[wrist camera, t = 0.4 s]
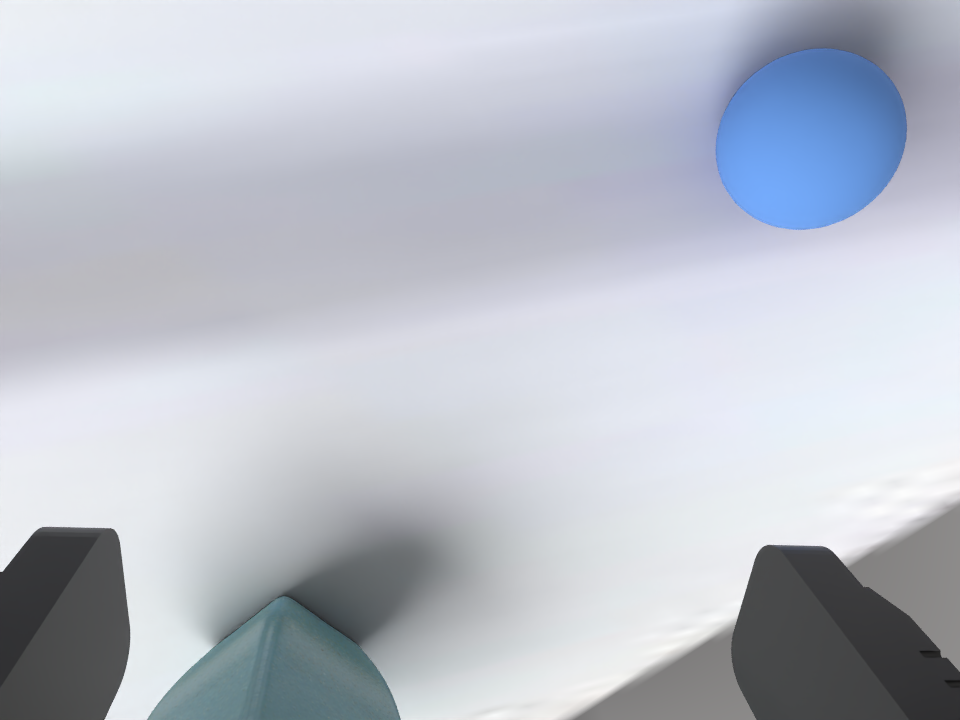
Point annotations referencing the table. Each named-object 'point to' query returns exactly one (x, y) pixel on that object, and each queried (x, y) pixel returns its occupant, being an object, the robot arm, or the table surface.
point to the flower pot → (281, 674)
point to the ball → (811, 139)
